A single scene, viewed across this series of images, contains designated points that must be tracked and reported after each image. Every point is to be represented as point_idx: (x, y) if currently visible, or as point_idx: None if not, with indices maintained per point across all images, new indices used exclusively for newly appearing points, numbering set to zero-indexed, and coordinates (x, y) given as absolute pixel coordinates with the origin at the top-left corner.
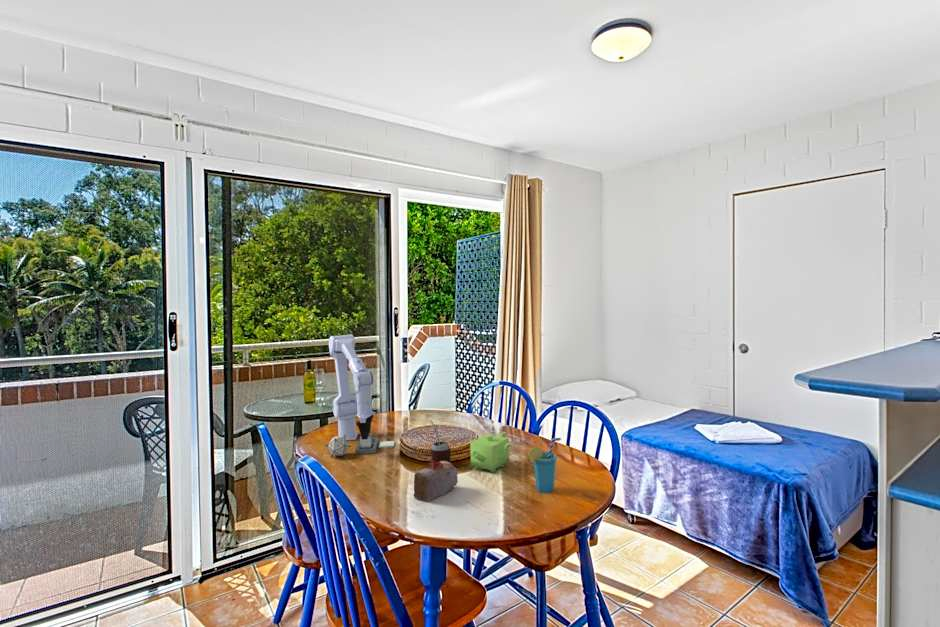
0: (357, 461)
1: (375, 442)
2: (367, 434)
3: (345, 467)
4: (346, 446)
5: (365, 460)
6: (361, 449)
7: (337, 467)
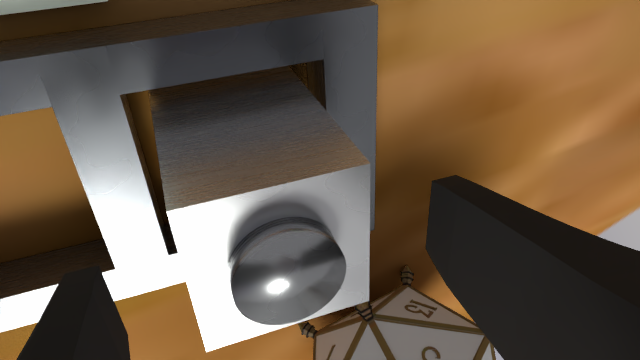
0: (533, 122)
1: (34, 86)
2: (526, 216)
3: (615, 168)
4: (440, 323)
5: (537, 54)
6: None
7: (589, 221)
